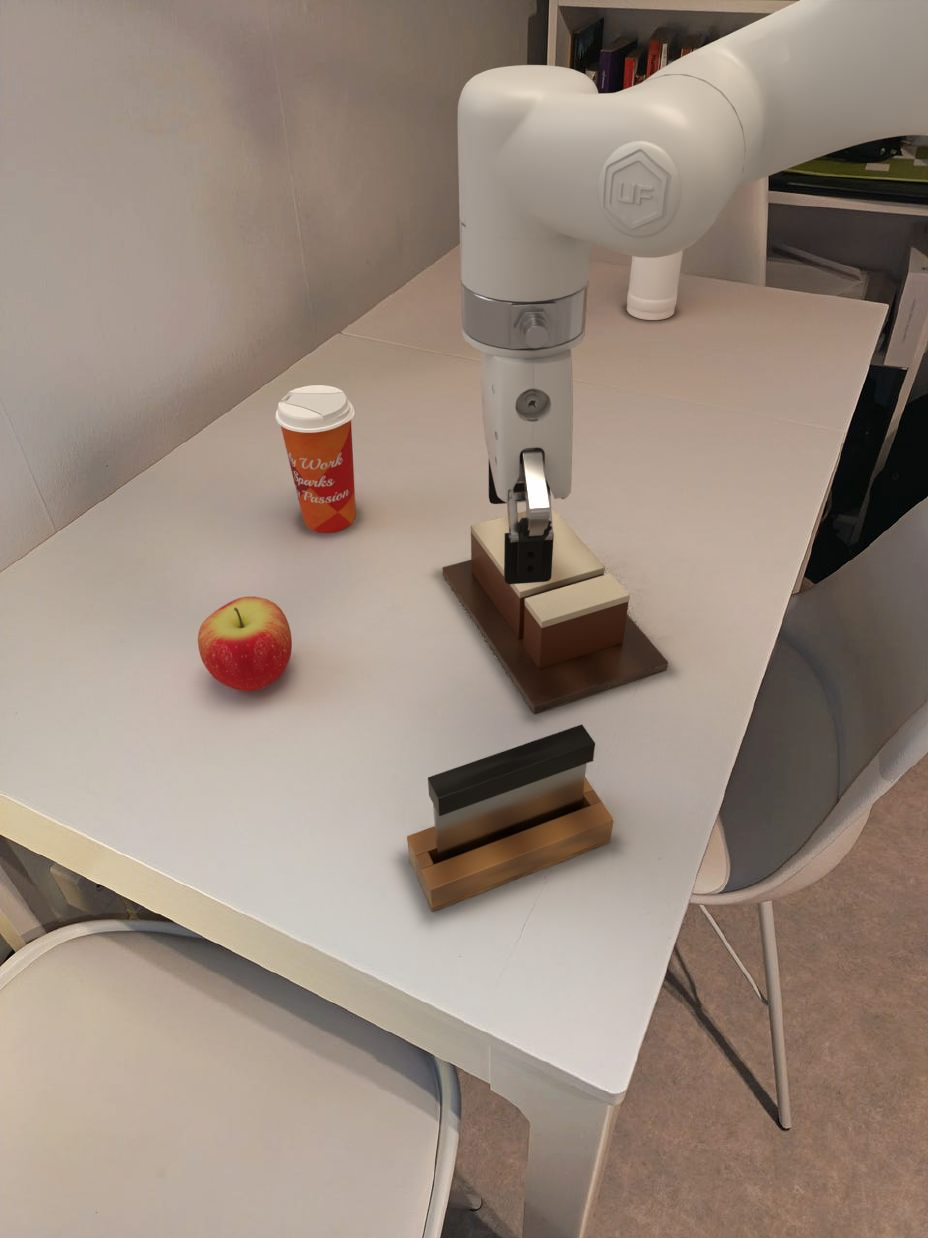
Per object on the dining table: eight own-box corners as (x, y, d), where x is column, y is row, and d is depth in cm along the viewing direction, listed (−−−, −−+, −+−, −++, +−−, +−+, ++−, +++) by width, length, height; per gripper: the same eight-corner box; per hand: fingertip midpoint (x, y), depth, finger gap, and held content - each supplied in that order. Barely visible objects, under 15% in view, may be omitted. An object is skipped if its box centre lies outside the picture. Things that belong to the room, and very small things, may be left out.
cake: (558, 542, 99) (562, 488, 94) (667, 669, 83) (677, 613, 79) (442, 574, 95) (440, 520, 90) (533, 714, 79) (536, 658, 75)
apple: (210, 717, 80) (185, 635, 73) (208, 653, 86) (185, 573, 79) (302, 700, 81) (285, 618, 74) (293, 639, 87) (277, 559, 81)
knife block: (579, 795, 73) (582, 772, 71) (610, 842, 69) (614, 819, 67) (408, 858, 68) (406, 835, 66) (432, 912, 65) (430, 890, 63)
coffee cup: (282, 532, 101) (259, 414, 91) (312, 493, 107) (294, 378, 97) (350, 544, 99) (335, 424, 89) (376, 504, 105) (365, 387, 95)
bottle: (679, 305, 147) (709, 99, 127) (669, 323, 141) (699, 112, 121) (632, 298, 149) (654, 96, 129) (620, 316, 144) (641, 108, 124)
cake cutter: (572, 811, 71) (582, 723, 64) (584, 830, 69) (595, 743, 62) (433, 863, 67) (427, 777, 60) (443, 884, 66) (438, 799, 59)
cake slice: (605, 620, 87) (610, 572, 83) (623, 642, 85) (630, 594, 81) (522, 646, 85) (524, 598, 81) (539, 669, 82) (541, 621, 78)
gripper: (616, 369, 47) (591, 612, 58) (561, 255, 60) (549, 472, 71) (475, 378, 47) (478, 620, 58) (450, 260, 59) (457, 478, 71)
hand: (518, 538), depth 65 cm, fingers open, 9 cm apart
